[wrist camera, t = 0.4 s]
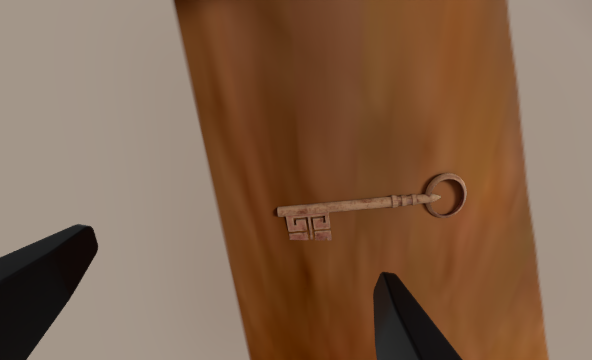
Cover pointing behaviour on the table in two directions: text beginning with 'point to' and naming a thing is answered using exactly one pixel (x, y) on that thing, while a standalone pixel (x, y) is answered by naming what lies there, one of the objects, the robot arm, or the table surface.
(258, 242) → the table surface
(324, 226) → the key
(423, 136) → the table surface
